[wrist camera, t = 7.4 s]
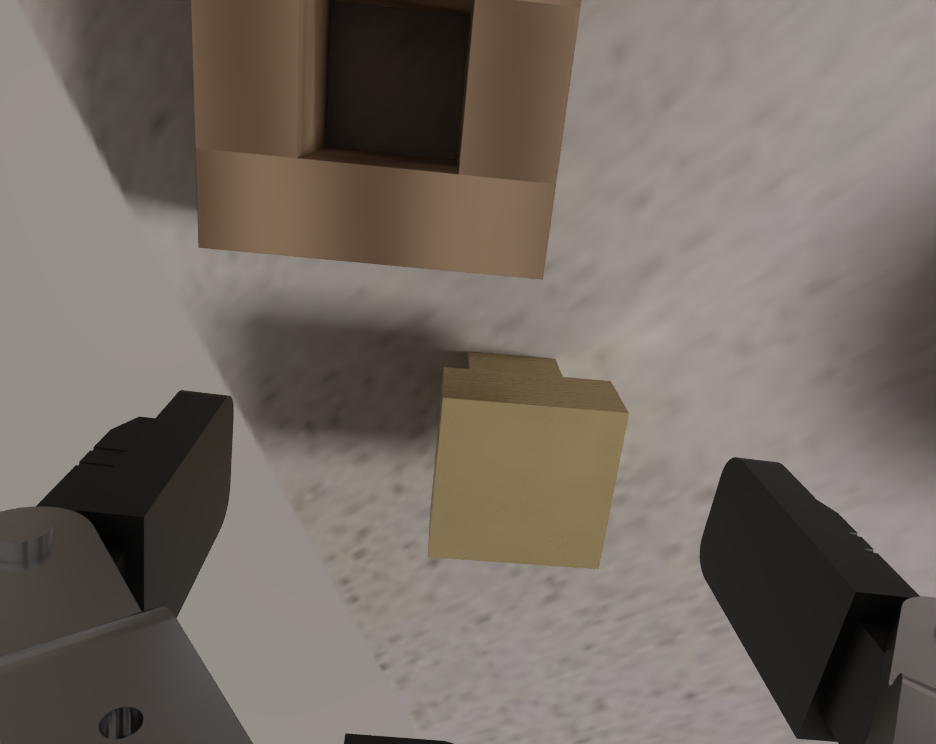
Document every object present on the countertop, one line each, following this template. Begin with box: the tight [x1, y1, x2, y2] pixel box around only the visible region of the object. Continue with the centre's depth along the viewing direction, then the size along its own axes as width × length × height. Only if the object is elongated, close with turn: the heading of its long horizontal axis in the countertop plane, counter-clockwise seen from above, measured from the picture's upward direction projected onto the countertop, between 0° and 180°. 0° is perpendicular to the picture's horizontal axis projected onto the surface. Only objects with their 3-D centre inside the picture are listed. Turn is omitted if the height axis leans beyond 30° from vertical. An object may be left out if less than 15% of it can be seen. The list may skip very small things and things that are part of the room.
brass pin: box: [428, 352, 629, 569], centre depth 30 cm, size 6×6×8 cm
